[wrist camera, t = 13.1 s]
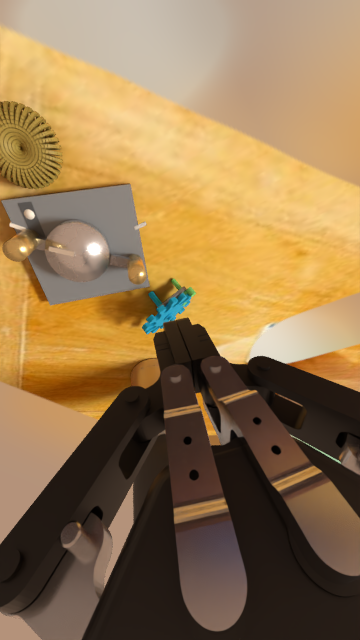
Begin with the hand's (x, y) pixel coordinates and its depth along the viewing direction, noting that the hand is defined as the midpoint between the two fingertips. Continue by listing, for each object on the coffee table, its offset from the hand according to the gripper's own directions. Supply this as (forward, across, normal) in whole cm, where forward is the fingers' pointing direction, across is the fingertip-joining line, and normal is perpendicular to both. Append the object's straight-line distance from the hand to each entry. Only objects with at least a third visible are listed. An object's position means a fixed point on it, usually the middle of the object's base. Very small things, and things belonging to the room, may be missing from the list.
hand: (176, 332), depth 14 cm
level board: (+27, +8, +1) cm, 28 cm away
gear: (+27, -2, +13) cm, 30 cm away
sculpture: (+27, +11, -11) cm, 32 cm away
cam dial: (+26, +8, +1) cm, 27 cm away
